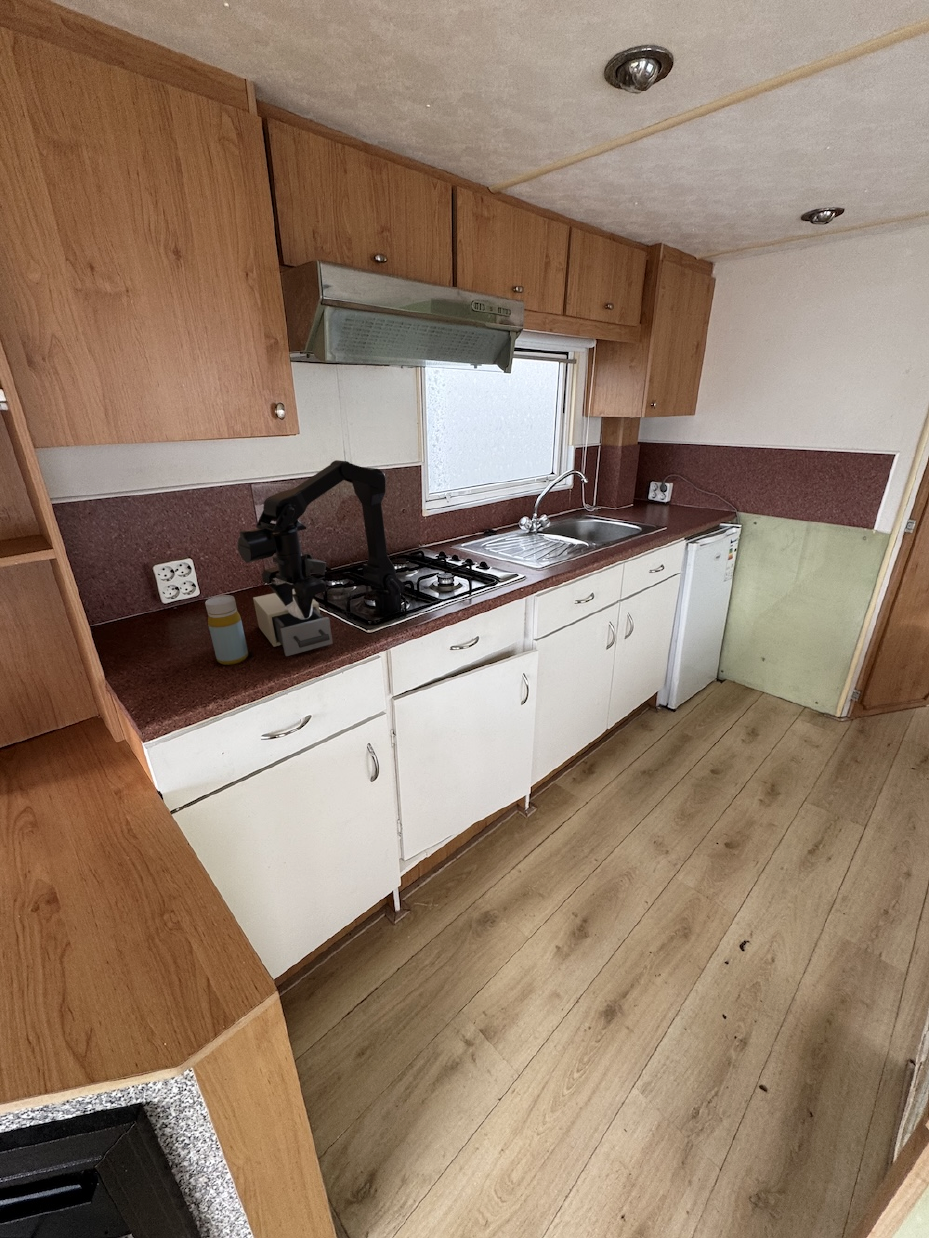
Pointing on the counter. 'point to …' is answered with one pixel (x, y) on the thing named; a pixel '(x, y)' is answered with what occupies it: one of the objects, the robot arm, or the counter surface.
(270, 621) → the small drawer cabinet
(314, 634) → the grey drawer with handle
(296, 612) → the garlic bulb
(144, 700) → the counter surface
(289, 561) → the robot arm
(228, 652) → the bottle
